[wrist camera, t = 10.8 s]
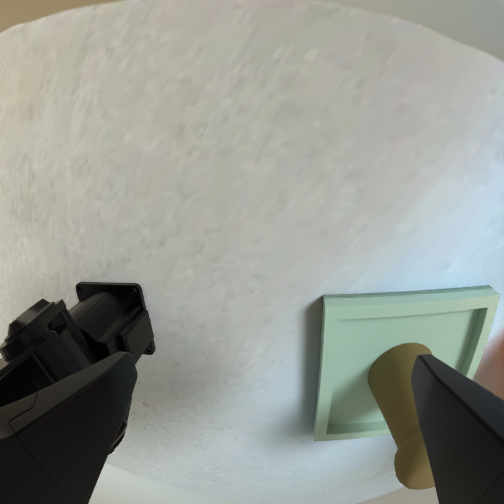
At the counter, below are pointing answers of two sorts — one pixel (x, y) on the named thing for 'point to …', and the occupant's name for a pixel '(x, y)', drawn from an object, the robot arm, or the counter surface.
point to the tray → (385, 337)
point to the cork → (402, 412)
